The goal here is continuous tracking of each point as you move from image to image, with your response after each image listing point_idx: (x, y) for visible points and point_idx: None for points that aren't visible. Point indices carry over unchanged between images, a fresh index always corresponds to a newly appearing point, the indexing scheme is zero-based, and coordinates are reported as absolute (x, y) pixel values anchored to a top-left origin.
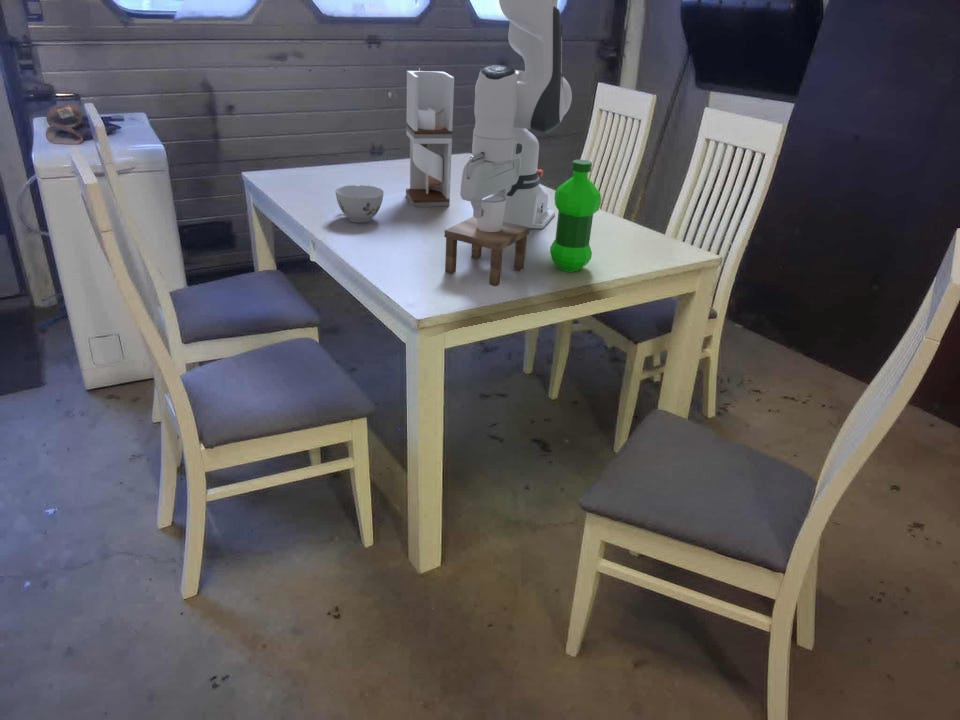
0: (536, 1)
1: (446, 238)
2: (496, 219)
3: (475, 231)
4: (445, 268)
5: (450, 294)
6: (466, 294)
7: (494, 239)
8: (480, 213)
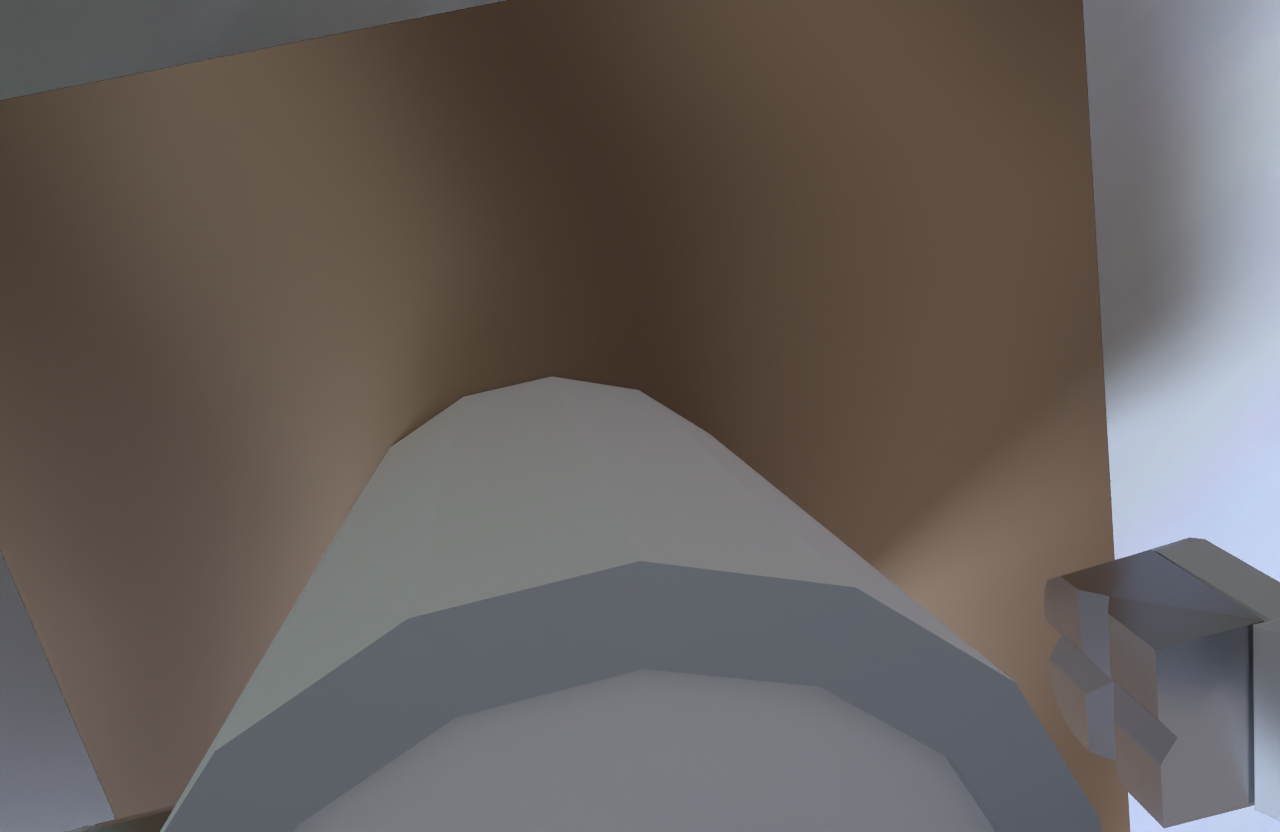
0: None
1: None
2: (690, 440)
3: None
4: None
5: (1227, 185)
6: (1139, 84)
7: (948, 126)
8: (1263, 573)
